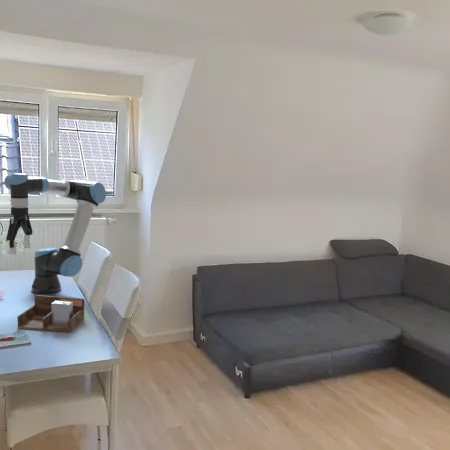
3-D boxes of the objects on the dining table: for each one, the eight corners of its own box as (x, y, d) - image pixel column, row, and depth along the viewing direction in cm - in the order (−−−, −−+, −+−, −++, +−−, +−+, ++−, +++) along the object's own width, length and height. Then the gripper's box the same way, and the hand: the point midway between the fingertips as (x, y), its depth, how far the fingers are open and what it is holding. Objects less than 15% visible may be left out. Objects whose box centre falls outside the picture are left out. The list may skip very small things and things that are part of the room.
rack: (35, 315, 230) (35, 294, 228) (84, 319, 228) (84, 298, 226) (17, 328, 213) (17, 306, 212) (69, 332, 211) (69, 310, 210)
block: (55, 321, 220) (55, 300, 219) (72, 323, 220) (72, 301, 218) (51, 324, 217) (51, 303, 215) (69, 326, 216) (69, 304, 214)
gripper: (24, 203, 241) (25, 245, 244) (-3, 209, 216) (-2, 256, 220) (39, 204, 240) (39, 246, 244) (13, 210, 216) (14, 257, 219)
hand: (20, 251), depth 232 cm, fingers open, 13 cm apart
